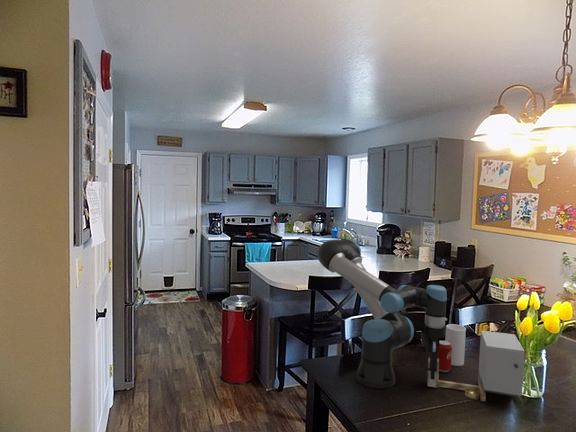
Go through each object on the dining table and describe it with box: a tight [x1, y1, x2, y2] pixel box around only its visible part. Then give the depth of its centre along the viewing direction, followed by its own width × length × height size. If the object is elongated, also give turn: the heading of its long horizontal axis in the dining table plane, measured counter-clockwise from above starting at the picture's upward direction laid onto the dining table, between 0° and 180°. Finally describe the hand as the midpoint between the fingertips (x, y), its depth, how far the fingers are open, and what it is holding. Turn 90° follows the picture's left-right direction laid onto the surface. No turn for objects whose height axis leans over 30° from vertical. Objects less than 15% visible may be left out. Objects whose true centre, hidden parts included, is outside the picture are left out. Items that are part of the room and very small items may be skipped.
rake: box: [426, 356, 487, 402], centre depth 160 cm, size 20×10×10 cm, turn 72°
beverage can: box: [437, 340, 452, 373], centre depth 179 cm, size 6×6×12 cm
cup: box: [444, 323, 467, 367], centre depth 188 cm, size 8×8×16 cm
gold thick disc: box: [464, 388, 480, 401], centre depth 157 cm, size 5×5×2 cm
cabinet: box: [477, 330, 525, 397], centre depth 156 cm, size 12×19×22 cm, turn 161°
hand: (431, 383), depth 165 cm, fingers closed on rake, 4 cm apart
